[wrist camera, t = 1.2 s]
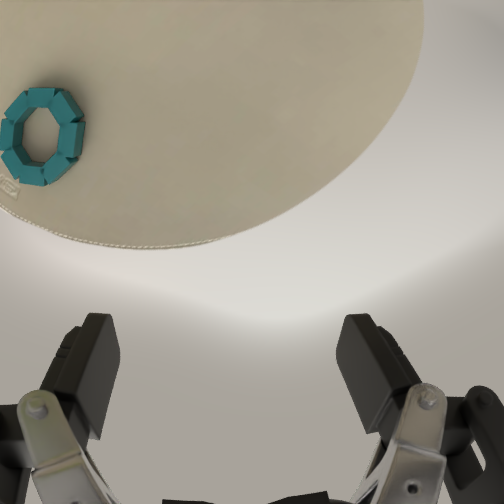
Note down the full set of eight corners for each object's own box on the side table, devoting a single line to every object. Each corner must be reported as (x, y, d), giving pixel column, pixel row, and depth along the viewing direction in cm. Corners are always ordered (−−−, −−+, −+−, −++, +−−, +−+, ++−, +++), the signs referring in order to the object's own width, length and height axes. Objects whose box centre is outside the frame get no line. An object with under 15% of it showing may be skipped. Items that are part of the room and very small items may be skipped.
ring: (-3, 132, 25) (-13, 134, 23) (54, 69, 23) (45, 67, 21) (39, 198, 29) (30, 203, 27) (101, 140, 27) (94, 142, 26)
